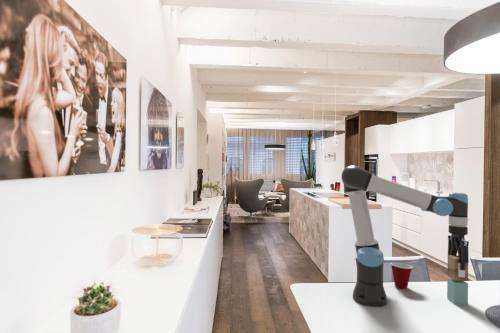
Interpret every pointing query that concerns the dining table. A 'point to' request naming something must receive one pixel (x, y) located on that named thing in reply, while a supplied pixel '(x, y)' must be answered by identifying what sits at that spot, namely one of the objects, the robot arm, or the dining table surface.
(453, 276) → the walnut block
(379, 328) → the dining table surface
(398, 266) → the plastic cup
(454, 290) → the teal block
